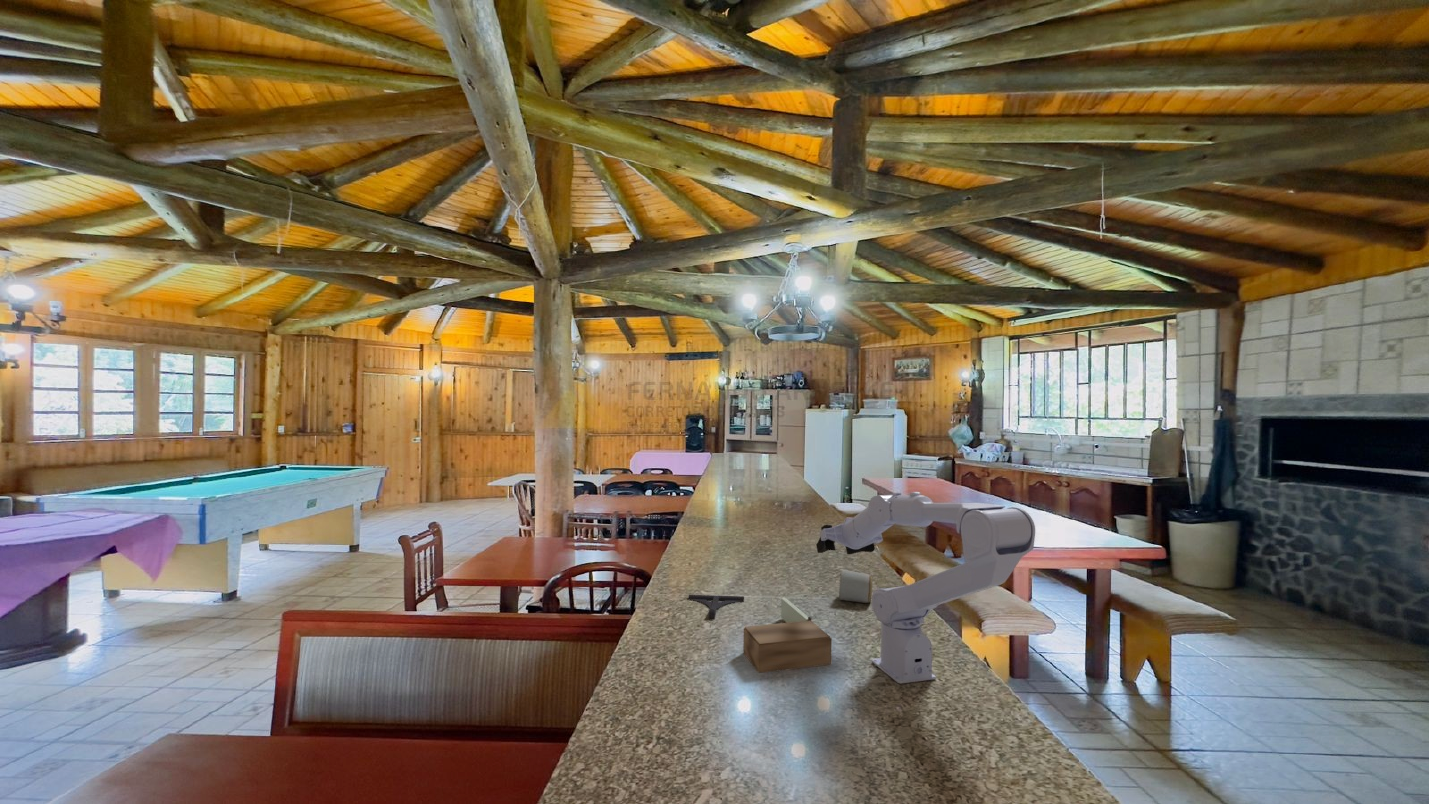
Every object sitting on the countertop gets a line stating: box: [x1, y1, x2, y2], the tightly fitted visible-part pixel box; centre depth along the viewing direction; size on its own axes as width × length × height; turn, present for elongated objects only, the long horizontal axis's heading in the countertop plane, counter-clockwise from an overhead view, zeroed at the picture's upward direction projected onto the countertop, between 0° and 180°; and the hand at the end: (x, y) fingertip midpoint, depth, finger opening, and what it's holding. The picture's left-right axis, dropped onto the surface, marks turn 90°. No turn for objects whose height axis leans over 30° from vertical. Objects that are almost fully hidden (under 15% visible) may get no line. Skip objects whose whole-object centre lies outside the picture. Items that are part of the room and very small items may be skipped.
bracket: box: [688, 594, 745, 620], centre depth 138 cm, size 14×15×3 cm
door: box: [780, 597, 809, 623], centre depth 125 cm, size 14×2×5 cm, turn 16°
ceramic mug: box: [838, 569, 873, 604], centre depth 147 cm, size 11×8×8 cm
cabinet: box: [742, 616, 833, 674], centre depth 111 cm, size 10×15×6 cm, turn 106°
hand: (833, 549), depth 128 cm, fingers open, 7 cm apart
